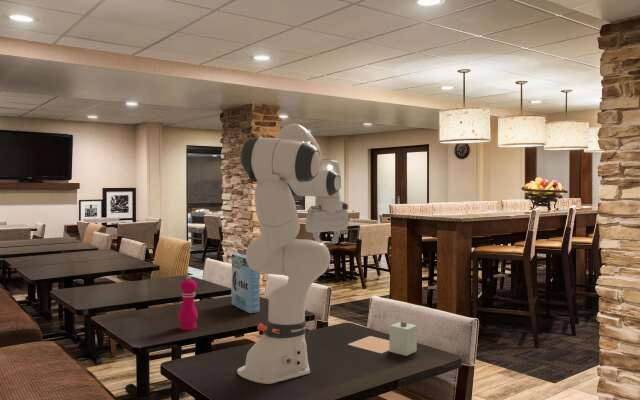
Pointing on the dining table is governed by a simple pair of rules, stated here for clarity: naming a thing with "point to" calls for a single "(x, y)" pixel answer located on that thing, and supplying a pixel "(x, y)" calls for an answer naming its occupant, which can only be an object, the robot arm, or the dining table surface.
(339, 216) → the robot arm
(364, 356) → the dining table surface
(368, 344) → the mat
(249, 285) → the gum box
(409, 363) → the dining table surface
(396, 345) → the pale green square canister
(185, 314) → the pepper mill
